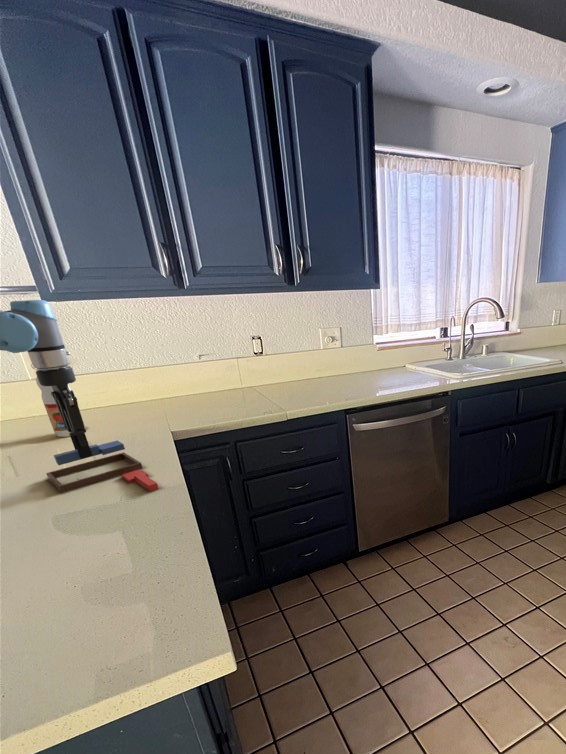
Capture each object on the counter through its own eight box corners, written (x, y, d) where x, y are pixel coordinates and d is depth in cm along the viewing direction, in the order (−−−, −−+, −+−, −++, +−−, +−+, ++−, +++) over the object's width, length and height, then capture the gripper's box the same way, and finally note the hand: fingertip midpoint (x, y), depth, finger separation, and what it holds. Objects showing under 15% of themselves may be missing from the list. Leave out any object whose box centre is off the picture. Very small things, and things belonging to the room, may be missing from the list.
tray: (62, 495, 108) (59, 486, 107) (49, 481, 117) (46, 473, 116) (143, 470, 121) (141, 462, 120) (126, 459, 130) (123, 452, 129)
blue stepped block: (60, 466, 110) (56, 458, 109) (55, 462, 113) (52, 454, 112) (125, 449, 120) (122, 441, 119) (119, 445, 123) (116, 437, 122)
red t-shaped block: (165, 489, 109) (162, 481, 108) (145, 496, 106) (142, 487, 105) (141, 474, 119) (139, 466, 118) (122, 480, 116) (120, 471, 115)
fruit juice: (79, 427, 162) (52, 351, 150) (91, 431, 157) (65, 353, 146) (51, 435, 155) (21, 355, 143) (62, 439, 150) (32, 357, 139)
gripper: (79, 368, 103) (109, 458, 113) (62, 362, 113) (91, 446, 123) (42, 373, 98) (77, 467, 108) (28, 367, 108) (61, 453, 118)
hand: (85, 455), depth 115 cm, fingers closed on blue stepped block, 2 cm apart
